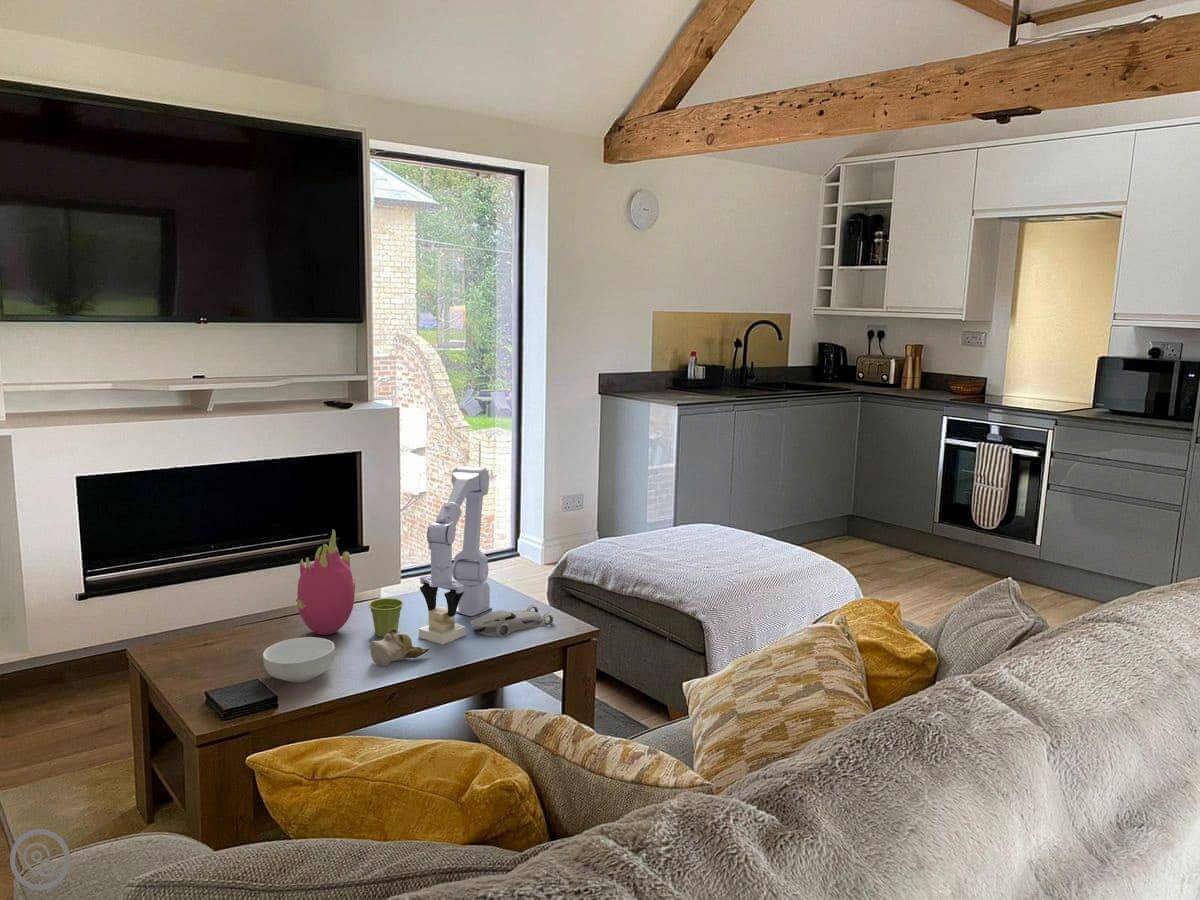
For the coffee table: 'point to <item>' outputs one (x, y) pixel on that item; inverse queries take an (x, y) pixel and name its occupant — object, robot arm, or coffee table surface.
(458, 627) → the cream square tray
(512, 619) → the car model
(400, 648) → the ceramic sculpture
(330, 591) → the pink dragon fruit
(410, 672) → the coffee table surface
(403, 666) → the coffee table surface
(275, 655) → the cereal bowl
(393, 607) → the plant pot
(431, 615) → the maple cube
